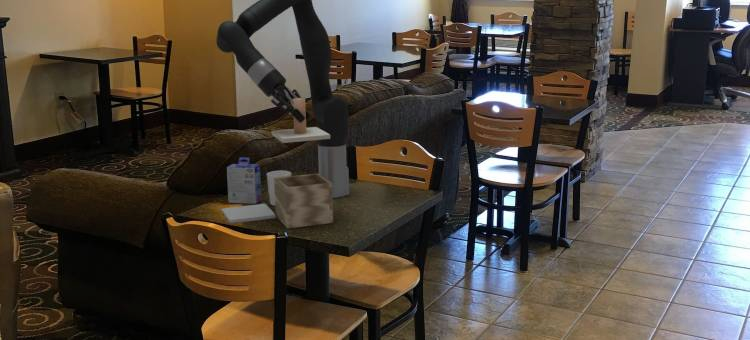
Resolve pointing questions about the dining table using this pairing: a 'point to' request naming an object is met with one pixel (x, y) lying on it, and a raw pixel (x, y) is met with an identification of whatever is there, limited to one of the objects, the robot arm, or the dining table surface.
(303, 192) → the box
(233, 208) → the plate
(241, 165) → the ink cartridge box
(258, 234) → the dining table surface
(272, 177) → the white cup
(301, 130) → the lid
